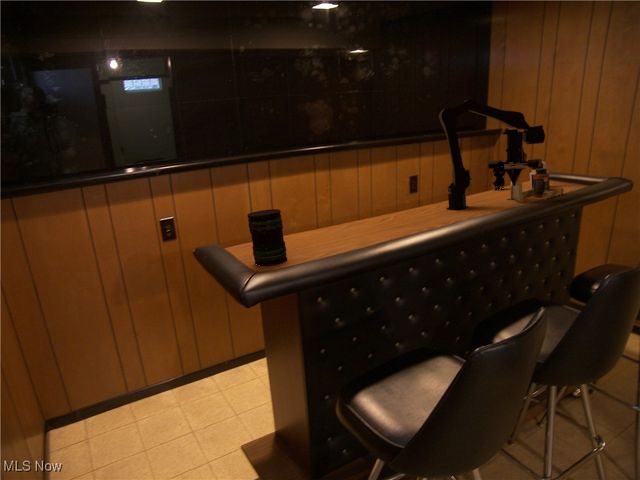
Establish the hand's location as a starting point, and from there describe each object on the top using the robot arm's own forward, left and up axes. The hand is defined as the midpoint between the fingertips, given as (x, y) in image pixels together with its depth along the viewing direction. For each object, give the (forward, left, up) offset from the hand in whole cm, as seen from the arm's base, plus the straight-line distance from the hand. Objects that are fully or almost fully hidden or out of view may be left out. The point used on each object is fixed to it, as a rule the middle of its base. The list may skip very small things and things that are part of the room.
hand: (514, 185), depth 179 cm
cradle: (+16, -1, -7) cm, 17 cm away
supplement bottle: (+16, -1, -7) cm, 17 cm away
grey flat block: (+4, +2, -6) cm, 7 cm away
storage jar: (-105, +4, -7) cm, 105 cm away
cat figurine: (+28, +29, -7) cm, 41 cm away
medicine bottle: (+36, +14, -7) cm, 39 cm away
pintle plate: (+7, +6, -7) cm, 11 cm away
